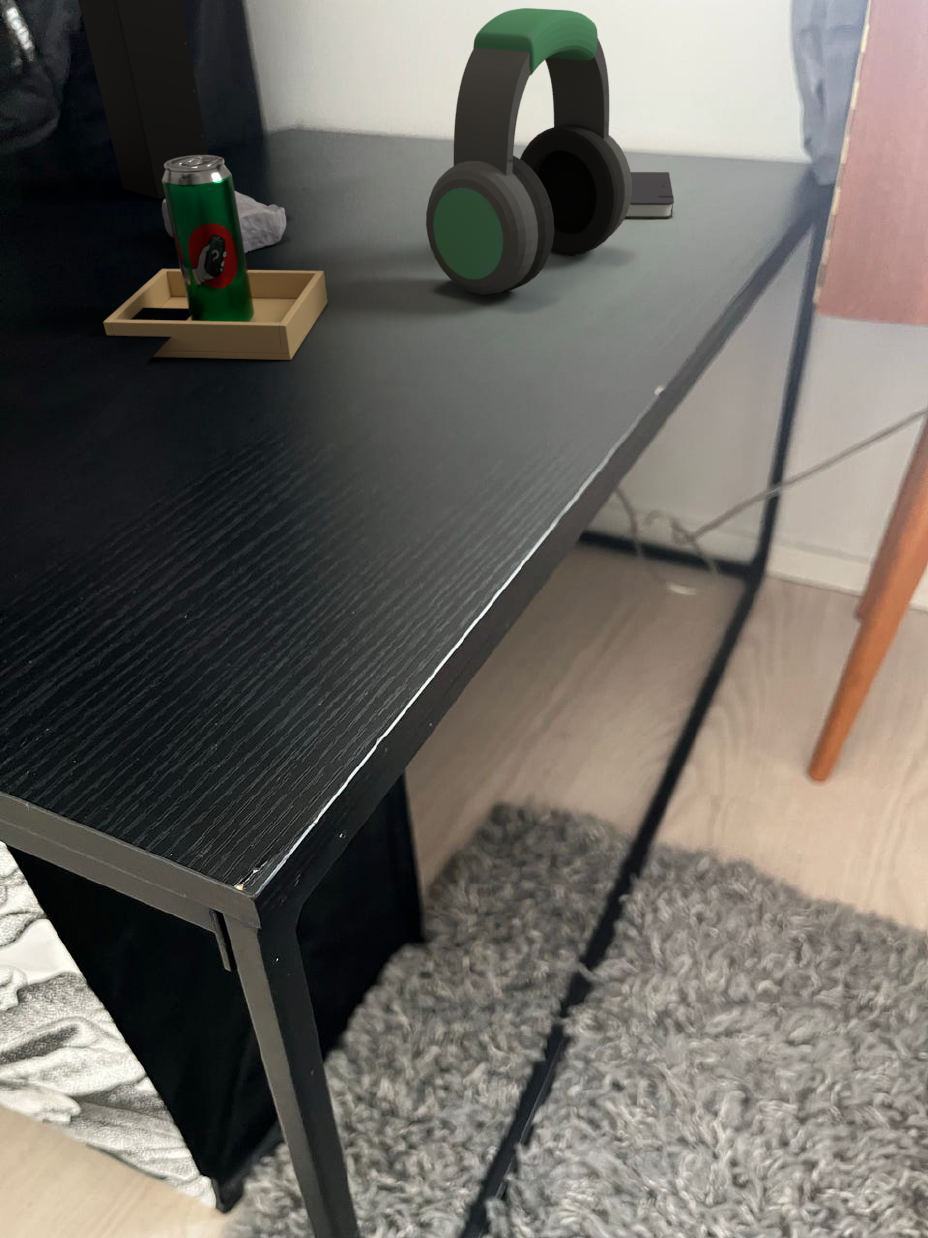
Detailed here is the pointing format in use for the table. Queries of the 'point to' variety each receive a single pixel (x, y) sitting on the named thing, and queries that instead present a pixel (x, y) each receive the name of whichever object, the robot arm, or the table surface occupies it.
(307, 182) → the table surface
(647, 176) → the notebook
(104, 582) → the table surface
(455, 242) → the headphones
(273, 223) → the stone block
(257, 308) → the tray
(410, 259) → the table surface
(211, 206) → the soda can
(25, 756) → the table surface
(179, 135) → the tall black block
